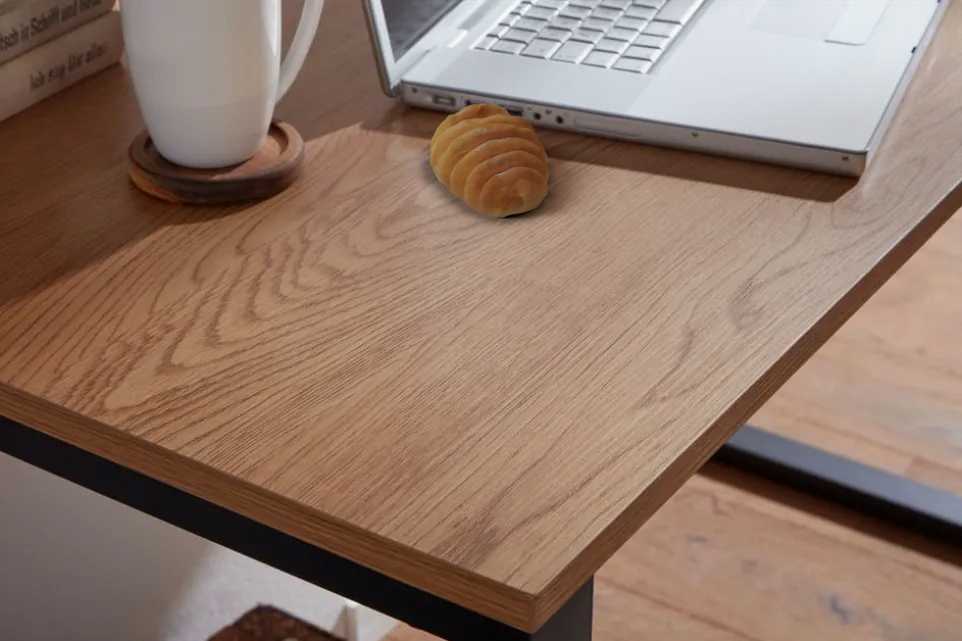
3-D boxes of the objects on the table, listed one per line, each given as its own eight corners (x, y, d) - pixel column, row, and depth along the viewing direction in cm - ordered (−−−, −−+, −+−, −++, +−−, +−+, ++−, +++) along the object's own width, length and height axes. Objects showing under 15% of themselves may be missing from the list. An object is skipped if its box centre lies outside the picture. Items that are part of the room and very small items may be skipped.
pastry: (575, 214, 78) (575, 155, 76) (465, 235, 76) (462, 176, 74) (522, 146, 85) (520, 90, 83) (420, 164, 84) (416, 108, 82)
